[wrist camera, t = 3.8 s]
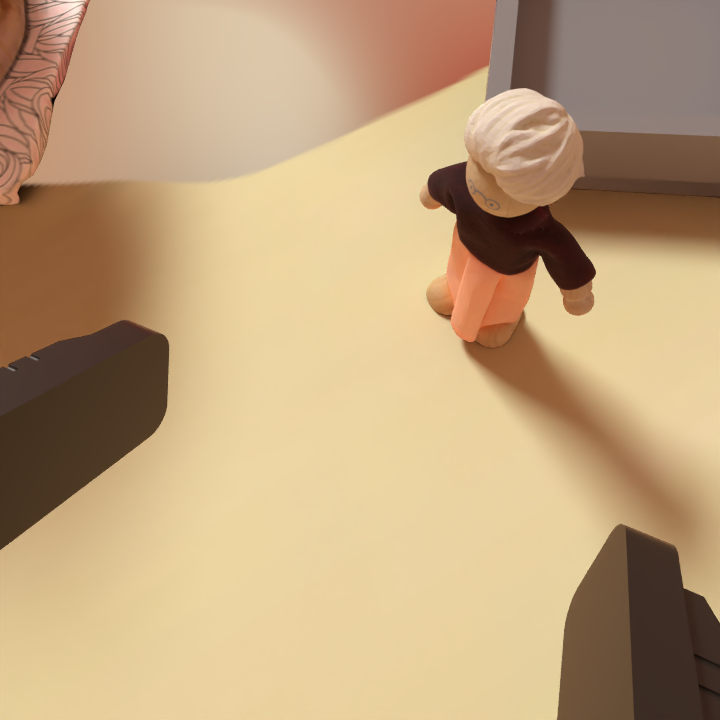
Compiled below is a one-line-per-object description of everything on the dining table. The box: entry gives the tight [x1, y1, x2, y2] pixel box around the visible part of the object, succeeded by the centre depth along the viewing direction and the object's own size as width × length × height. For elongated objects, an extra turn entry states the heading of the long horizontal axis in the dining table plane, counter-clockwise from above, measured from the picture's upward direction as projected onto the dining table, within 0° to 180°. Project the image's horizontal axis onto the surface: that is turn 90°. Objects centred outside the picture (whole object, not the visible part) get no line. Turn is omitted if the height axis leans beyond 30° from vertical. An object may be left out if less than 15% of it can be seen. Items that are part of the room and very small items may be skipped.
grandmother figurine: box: [420, 88, 596, 348], centre depth 20 cm, size 8×4×13 cm, turn 57°
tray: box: [485, 0, 720, 197], centre depth 27 cm, size 14×16×4 cm
